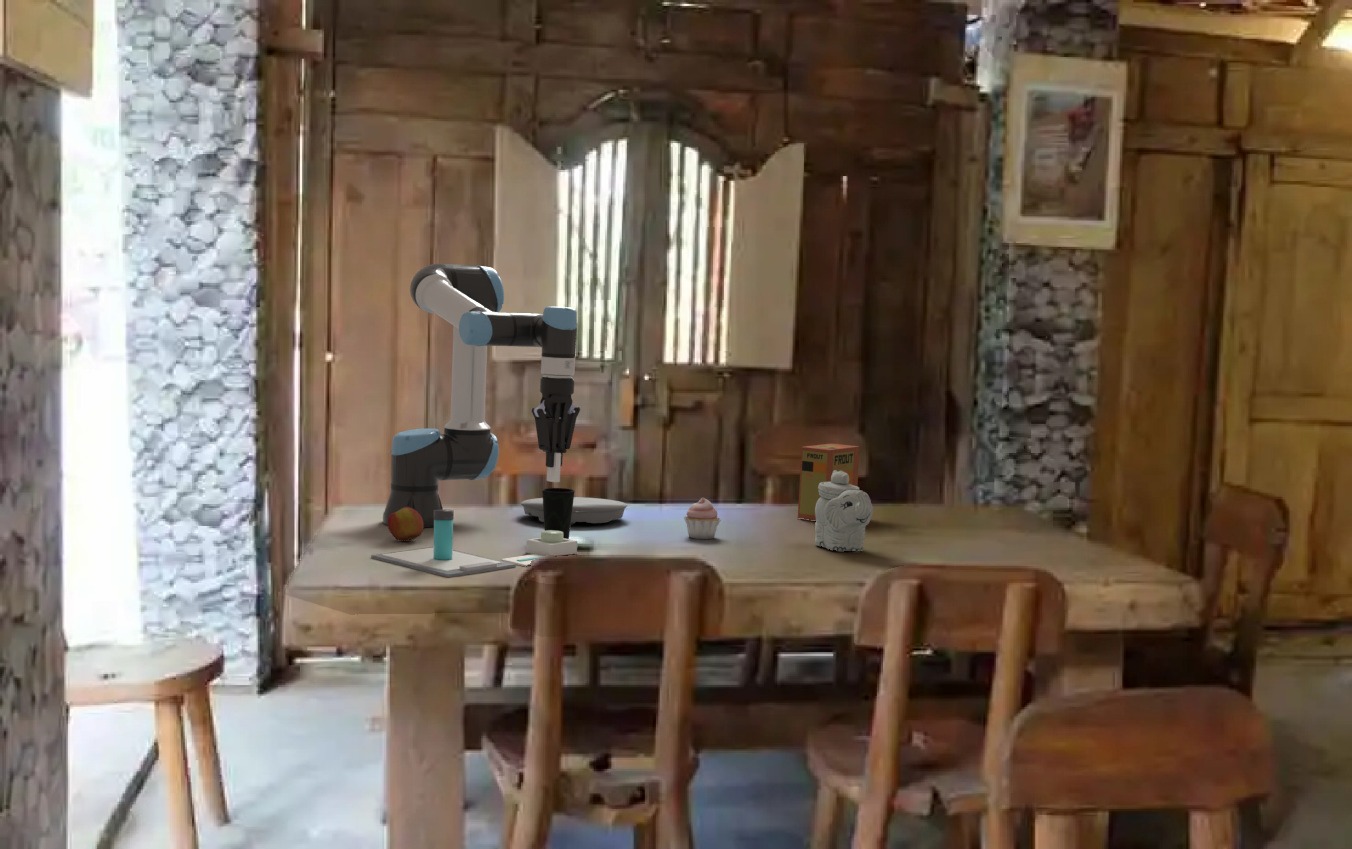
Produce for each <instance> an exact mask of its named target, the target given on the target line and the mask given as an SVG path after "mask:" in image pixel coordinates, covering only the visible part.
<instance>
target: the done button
mask: <svg viewBox="0 0 1352 849" xmlns="http://www.w3.org/2000/svg"><path fill="white" fill-rule="evenodd" d="M540 538H541V541H542V542H546V543H551V544H552V543H559V542H563V532H562V531H554V530H547V531H545V530H542V531H540Z"/></svg>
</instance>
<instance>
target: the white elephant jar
mask: <svg viewBox="0 0 1352 849" xmlns="http://www.w3.org/2000/svg"><path fill="white" fill-rule="evenodd" d="M848 483H849V475H848V474H847V473H845V472H843V471H839V472H837V471H836V470H834V471H833V473H832V476H831V482H821V483H819V486H818V489H819V495H820V496H821V497H820V498H819V499H818V501H817V503H816V507H815V516H816V522H814V527H815V528H814V532H815V537H814V538H815V539H814V545H816V546H818V547H821V546H822V548H826V549H827V550H829V549H830V550H829V551H833V550H836V551H835V552H844V551H861V550H864V541H865V537H866V527H867V526H868V525H869V524H870V521H871V520H872V518H873V513H874V507H873V504H872V501H871V498H870V496H869V494H868V493H867V492H865V491H863V490H860V487H859V486H854V485H851V484H848Z"/></svg>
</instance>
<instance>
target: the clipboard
mask: <svg viewBox="0 0 1352 849" xmlns="http://www.w3.org/2000/svg"><path fill="white" fill-rule="evenodd" d="M433 550H434V546H430V547H423V548H414V549H407V550H399V551H392V552H383V553H377V554H371V555H370V556H371V557H370V558H371V559H375V560H378V561H383V562H386V563H391V564H395V565H398V566H402V567H405V568H411V569H414V570H417V571H422V572H426V573H430V574H434V575H438V576H441V577H446V578H453V577H458V576H459V577H461V576H466V575H474V574H478V573H479V574H480V573H486V572H492V571H498V570H499V571H500V570H506V569H512V568H516V566H517V565H516V564H512V563H508V562H504V561H501V560H499V559H495V558H490V557H485V556H481V555H479V554H473V553H469V552H465V551H464V552H463V551H460V550H456V549H453V554H452V559H446V560H440V559H433Z"/></svg>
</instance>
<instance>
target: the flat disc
mask: <svg viewBox="0 0 1352 849" xmlns="http://www.w3.org/2000/svg"><path fill="white" fill-rule="evenodd" d="M628 505H629V504H627V503H625V502H623V501H619V500H615V499H614V500H613V499H607V498H596V497H579V496H578V497H577V496H576V497H575V496H574V500H573V508H572V516H571V524H570V526H573V525H575V524H576V522H577V523H584V522H586V523H588V524H590V523H591V524H602V523H609V522H611V521H615V520H618V519H622V518H623V515H624V512H625V509H626V508H627V507H628ZM520 506H521V507H523V512H524V514H525V515H528V516H533V517H538V520H539V522H542V523H544V512H543V497H538V498H529V499H526V500H525V499H524V500H522V501H520Z"/></svg>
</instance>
